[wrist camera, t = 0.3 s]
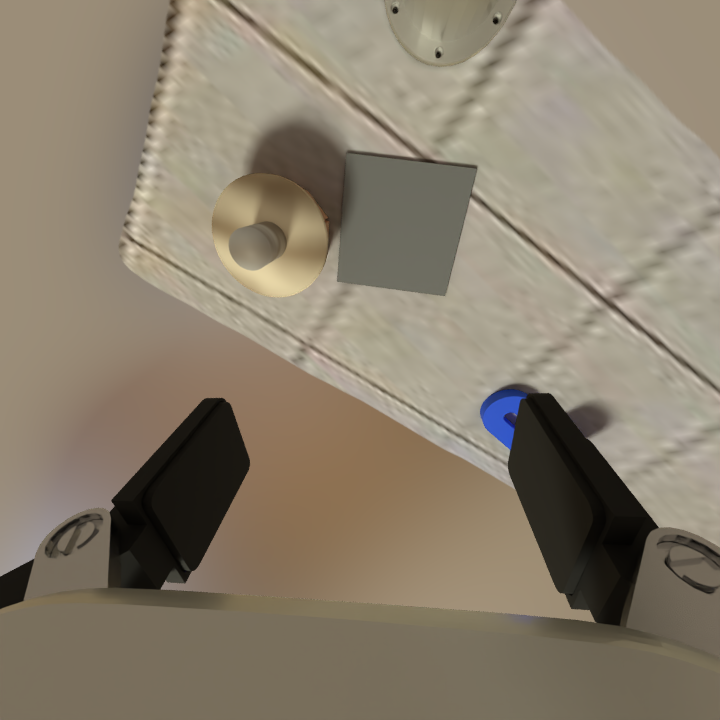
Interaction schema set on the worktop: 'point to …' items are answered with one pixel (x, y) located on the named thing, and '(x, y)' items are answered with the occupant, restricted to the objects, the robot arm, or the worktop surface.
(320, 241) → the lid
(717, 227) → the worktop surface
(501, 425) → the bracket
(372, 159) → the mat
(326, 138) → the worktop surface
